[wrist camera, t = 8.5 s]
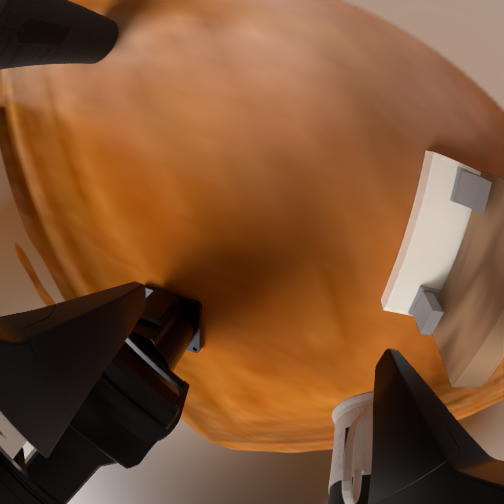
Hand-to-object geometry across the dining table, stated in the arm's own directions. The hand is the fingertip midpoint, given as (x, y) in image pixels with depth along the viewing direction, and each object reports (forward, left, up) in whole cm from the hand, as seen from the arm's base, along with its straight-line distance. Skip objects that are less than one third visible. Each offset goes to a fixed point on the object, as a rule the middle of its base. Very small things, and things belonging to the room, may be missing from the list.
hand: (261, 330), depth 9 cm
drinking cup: (+15, +20, -12) cm, 28 cm away
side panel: (+1, -14, -12) cm, 18 cm away
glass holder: (-18, -12, -12) cm, 25 cm away
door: (+2, -14, -10) cm, 17 cm away
